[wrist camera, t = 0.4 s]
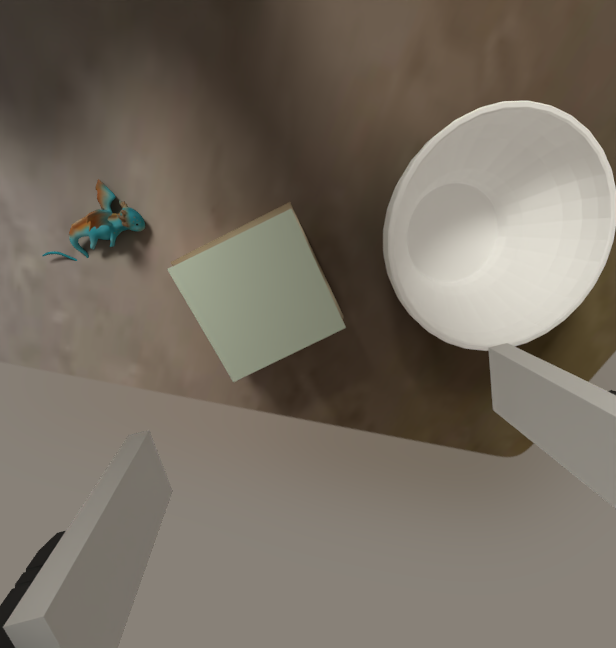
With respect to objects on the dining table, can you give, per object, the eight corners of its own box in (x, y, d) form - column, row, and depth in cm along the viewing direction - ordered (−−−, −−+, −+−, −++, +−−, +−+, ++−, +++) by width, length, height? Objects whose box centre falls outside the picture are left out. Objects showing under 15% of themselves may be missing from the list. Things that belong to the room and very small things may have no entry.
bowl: (571, 213, 39) (663, 209, 30) (455, 355, 42) (507, 390, 33) (441, 87, 35) (504, 36, 26) (320, 256, 38) (338, 264, 28)
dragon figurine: (124, 299, 36) (148, 233, 32) (33, 278, 32) (46, 200, 28) (129, 259, 40) (150, 197, 36) (49, 237, 36) (63, 164, 32)
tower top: (178, 264, 33) (167, 269, 29) (288, 210, 33) (291, 208, 29) (237, 365, 36) (233, 382, 32) (337, 316, 36) (346, 327, 32)
